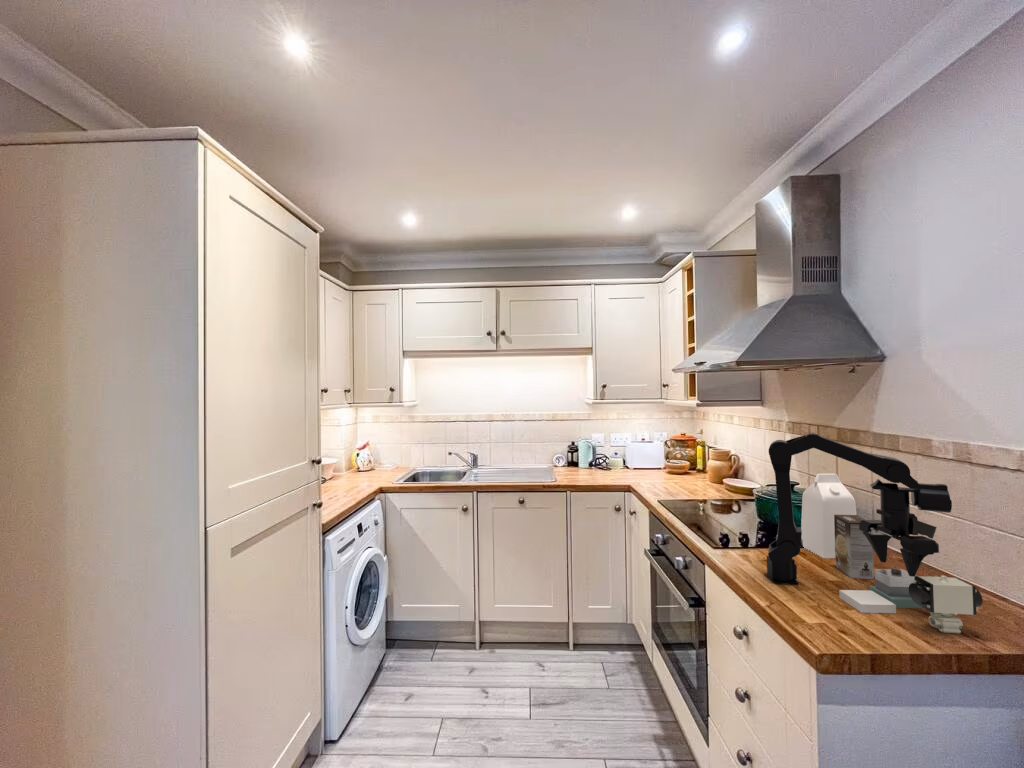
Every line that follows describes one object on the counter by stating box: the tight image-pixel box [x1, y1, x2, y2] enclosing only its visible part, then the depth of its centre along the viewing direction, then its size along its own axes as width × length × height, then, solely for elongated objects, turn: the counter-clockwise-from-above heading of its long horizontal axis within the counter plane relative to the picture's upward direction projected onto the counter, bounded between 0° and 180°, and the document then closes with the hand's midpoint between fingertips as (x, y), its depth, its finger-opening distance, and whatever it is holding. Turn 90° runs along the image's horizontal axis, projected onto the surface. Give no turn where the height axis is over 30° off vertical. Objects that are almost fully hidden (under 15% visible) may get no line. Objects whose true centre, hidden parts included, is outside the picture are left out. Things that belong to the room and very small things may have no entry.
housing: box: [874, 567, 917, 597], centre depth 115 cm, size 5×7×6 cm
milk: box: [800, 473, 858, 559], centre depth 150 cm, size 12×12×26 cm
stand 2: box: [868, 585, 924, 609], centre depth 115 cm, size 8×8×2 cm
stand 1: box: [838, 589, 897, 614], centre depth 112 cm, size 8×8×2 cm
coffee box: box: [834, 515, 875, 580], centre depth 133 cm, size 9×6×16 cm
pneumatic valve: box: [909, 575, 984, 635], centre depth 101 cm, size 6×12×12 cm, turn 82°
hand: (897, 568), depth 115 cm, fingers open, 9 cm apart
